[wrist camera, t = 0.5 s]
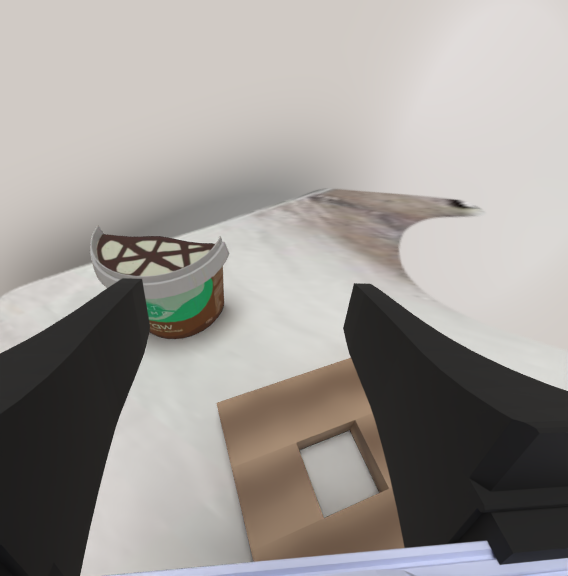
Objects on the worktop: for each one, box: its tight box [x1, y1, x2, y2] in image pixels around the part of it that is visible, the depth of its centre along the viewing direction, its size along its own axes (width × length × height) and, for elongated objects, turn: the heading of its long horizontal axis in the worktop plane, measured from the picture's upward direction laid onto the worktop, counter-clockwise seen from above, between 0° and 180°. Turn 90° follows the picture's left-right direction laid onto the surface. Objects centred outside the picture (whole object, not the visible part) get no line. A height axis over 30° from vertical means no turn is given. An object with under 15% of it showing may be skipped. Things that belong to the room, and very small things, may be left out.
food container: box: [90, 226, 229, 339], centre depth 31 cm, size 12×6×10 cm, turn 84°
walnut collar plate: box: [217, 358, 404, 562], centre depth 25 cm, size 15×15×2 cm
